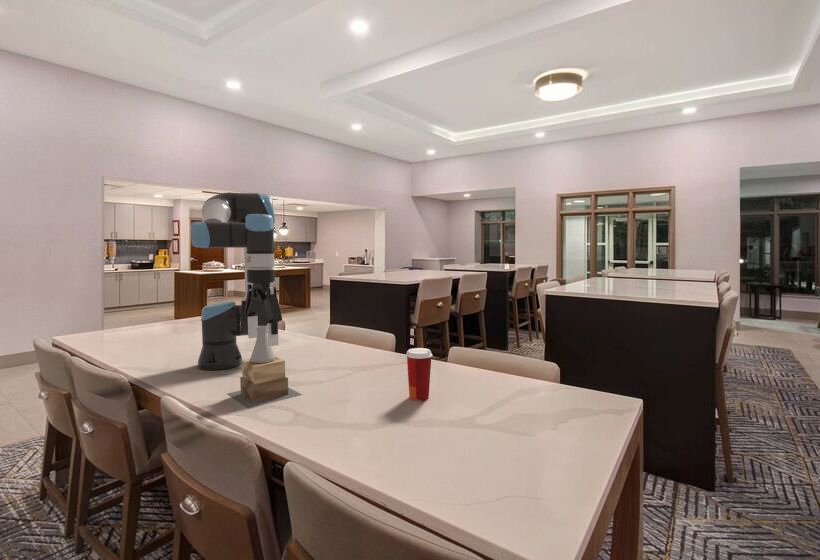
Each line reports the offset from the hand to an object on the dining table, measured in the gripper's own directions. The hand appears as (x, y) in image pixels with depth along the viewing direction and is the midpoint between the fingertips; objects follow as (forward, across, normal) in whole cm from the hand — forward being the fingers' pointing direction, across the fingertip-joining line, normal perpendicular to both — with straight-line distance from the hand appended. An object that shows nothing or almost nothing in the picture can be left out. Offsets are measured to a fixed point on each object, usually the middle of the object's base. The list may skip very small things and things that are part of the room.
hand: (262, 341), depth 126 cm
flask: (+6, 0, 0) cm, 6 cm away
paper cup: (+17, +31, +33) cm, 48 cm away
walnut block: (+16, 0, 0) cm, 16 cm away
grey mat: (+16, 0, 0) cm, 17 cm away
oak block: (+11, 0, 0) cm, 11 cm away
